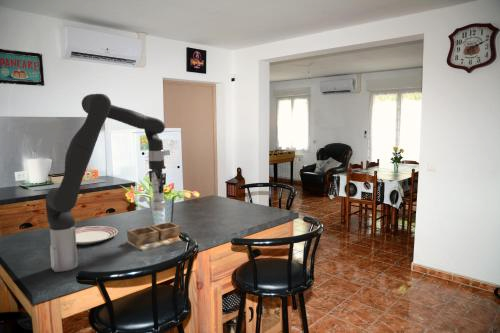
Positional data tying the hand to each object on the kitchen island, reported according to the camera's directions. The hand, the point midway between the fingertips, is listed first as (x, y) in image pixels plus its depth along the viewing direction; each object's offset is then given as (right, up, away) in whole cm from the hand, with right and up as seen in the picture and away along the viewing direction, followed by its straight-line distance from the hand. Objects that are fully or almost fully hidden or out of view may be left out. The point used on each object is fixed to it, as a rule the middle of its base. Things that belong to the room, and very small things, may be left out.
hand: (158, 191), depth 181 cm
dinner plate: (-36, -25, +4) cm, 44 cm away
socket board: (-1, -25, -1) cm, 25 cm away
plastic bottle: (0, -10, +1) cm, 10 cm away
